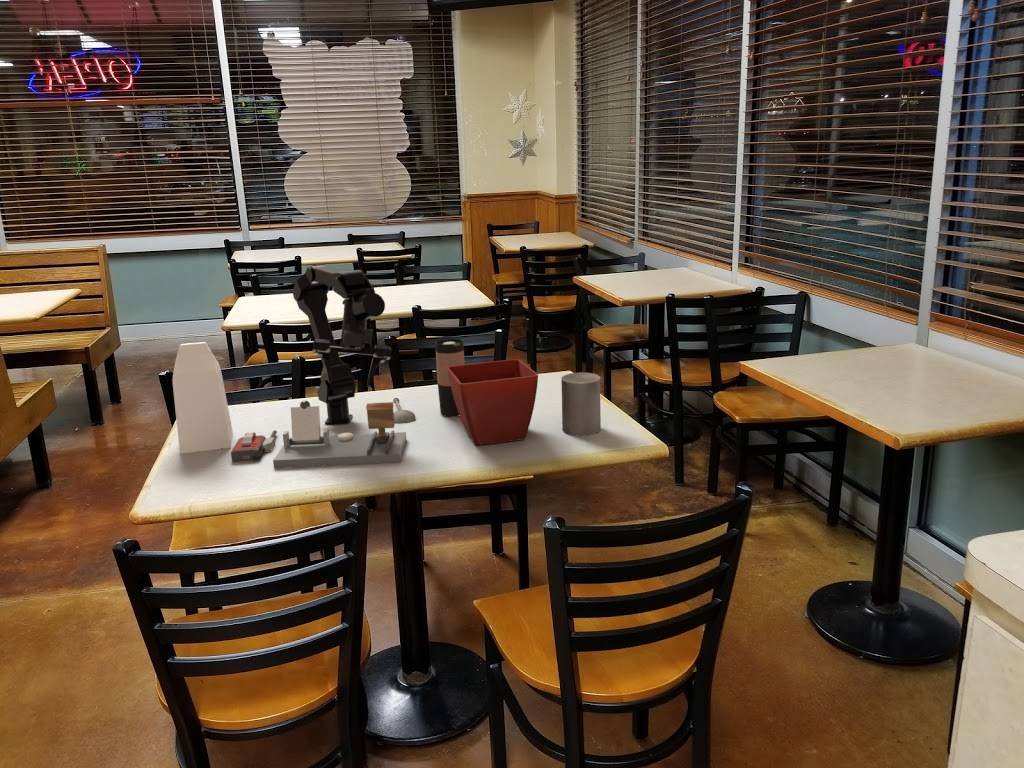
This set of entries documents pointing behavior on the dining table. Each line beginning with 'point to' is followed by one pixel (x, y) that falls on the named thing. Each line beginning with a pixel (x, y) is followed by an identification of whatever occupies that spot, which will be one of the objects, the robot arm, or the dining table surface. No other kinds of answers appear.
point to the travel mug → (447, 355)
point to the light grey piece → (305, 425)
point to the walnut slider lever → (380, 419)
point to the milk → (200, 400)
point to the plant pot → (494, 399)
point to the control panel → (341, 450)
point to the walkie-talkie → (252, 447)
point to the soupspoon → (402, 414)
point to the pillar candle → (581, 404)
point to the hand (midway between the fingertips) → (348, 384)
